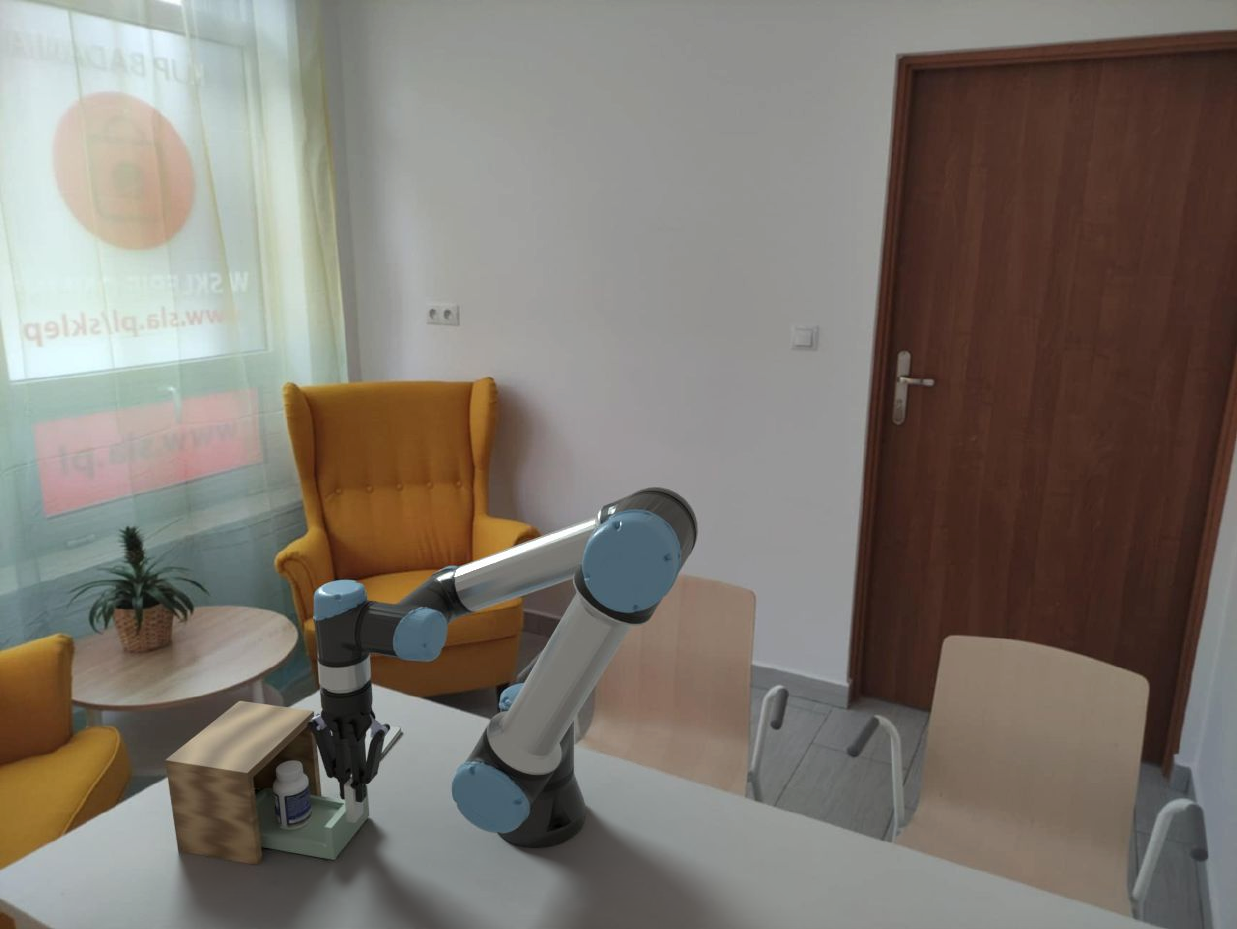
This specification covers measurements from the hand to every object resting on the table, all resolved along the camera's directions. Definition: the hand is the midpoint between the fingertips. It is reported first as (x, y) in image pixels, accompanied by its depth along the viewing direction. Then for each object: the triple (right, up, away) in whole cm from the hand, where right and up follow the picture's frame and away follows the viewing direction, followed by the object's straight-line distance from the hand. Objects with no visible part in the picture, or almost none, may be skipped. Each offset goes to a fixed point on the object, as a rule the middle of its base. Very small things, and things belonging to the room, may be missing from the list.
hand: (355, 816), depth 142 cm
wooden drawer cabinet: (-18, -3, +5) cm, 19 cm away
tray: (-10, -3, +3) cm, 11 cm away
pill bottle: (-11, -2, +3) cm, 11 cm away
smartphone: (-5, +2, +25) cm, 26 cm away
